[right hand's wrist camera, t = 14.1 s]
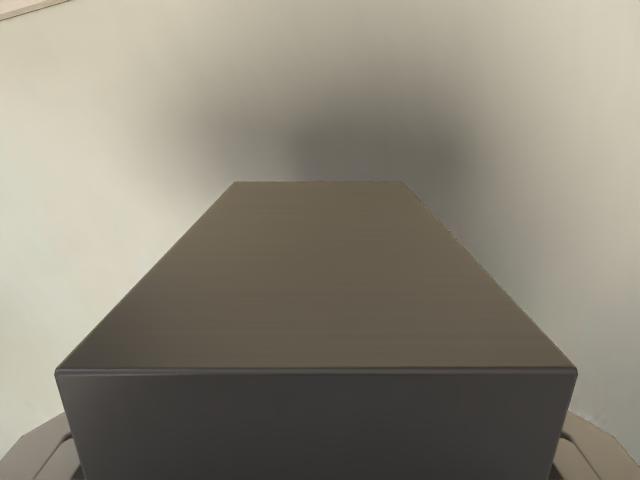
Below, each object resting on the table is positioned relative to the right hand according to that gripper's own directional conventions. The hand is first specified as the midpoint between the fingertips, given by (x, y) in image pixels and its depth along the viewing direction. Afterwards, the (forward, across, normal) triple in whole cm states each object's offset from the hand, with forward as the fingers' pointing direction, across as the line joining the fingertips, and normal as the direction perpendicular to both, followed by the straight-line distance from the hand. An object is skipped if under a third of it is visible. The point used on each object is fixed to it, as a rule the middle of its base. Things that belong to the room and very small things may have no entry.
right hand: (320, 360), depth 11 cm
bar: (+4, 0, -8) cm, 9 cm away
